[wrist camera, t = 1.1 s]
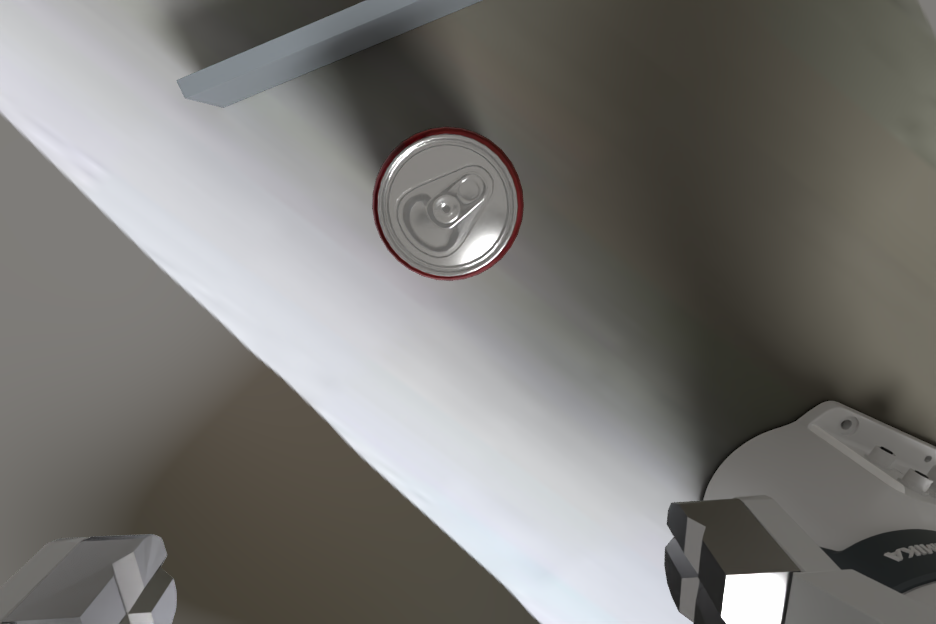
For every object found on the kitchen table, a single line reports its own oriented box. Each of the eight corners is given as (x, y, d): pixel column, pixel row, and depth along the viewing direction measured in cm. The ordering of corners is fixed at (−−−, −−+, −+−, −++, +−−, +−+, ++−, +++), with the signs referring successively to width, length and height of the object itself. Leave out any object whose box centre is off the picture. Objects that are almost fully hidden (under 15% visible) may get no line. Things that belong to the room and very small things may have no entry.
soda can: (438, 265, 37) (430, 312, 25) (376, 179, 35) (337, 188, 24) (523, 206, 36) (554, 227, 24) (463, 114, 34) (467, 91, 23)
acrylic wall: (567, -55, 32) (587, -94, 27) (572, -38, 32) (593, -73, 27) (216, 92, 33) (176, 80, 29) (223, 107, 34) (185, 98, 29)
